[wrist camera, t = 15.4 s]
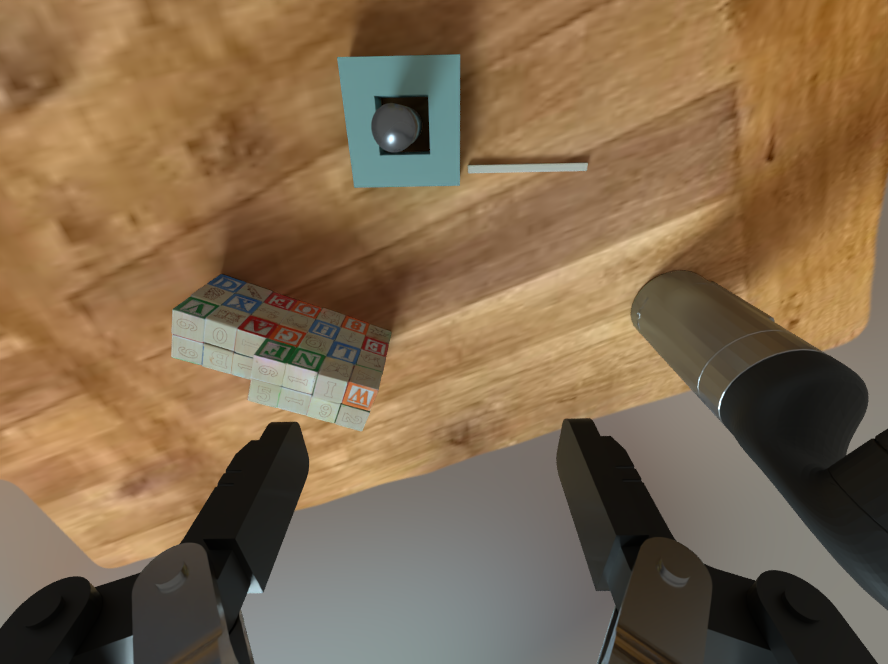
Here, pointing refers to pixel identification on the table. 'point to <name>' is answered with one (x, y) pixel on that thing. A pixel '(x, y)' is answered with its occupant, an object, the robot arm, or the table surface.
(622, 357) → the table surface
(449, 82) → the bead
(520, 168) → the grey stick
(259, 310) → the stack of blocks
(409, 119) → the grey metal cylinder
